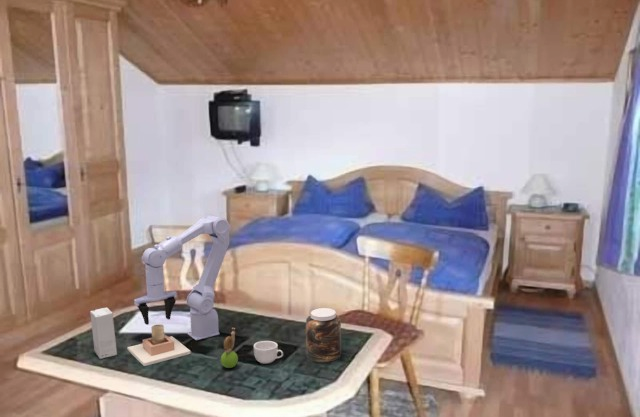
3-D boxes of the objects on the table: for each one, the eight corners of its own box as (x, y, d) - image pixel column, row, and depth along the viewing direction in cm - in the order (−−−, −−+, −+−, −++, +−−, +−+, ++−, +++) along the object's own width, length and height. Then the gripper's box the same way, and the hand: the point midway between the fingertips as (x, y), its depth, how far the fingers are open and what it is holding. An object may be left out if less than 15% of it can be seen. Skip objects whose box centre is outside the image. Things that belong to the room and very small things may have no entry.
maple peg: (165, 346, 199) (164, 324, 197) (164, 351, 195) (163, 328, 193) (153, 347, 198) (152, 324, 197) (152, 351, 194) (150, 329, 193)
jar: (307, 347, 199) (307, 306, 197) (341, 348, 198) (341, 306, 196) (304, 362, 188) (304, 318, 185) (340, 363, 187) (340, 318, 184)
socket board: (172, 338, 207) (171, 328, 207) (190, 353, 195) (190, 342, 194) (127, 349, 198) (126, 338, 197) (144, 366, 185) (143, 354, 185)
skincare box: (117, 355, 194) (114, 313, 191) (98, 359, 191) (95, 316, 188) (111, 347, 201) (108, 306, 198) (92, 351, 197) (89, 309, 195)
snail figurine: (242, 363, 187) (241, 328, 185) (233, 372, 181) (232, 335, 179) (227, 361, 189) (226, 326, 187) (217, 369, 183) (216, 333, 181)
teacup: (249, 363, 187) (249, 348, 186) (260, 354, 194) (259, 339, 193) (278, 368, 183) (277, 352, 182) (287, 358, 191) (287, 343, 190)
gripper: (170, 276, 204) (172, 313, 207) (129, 284, 196) (132, 322, 198) (178, 281, 199) (180, 318, 201) (137, 289, 190) (140, 328, 192)
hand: (157, 321), depth 199 cm, fingers open, 7 cm apart
